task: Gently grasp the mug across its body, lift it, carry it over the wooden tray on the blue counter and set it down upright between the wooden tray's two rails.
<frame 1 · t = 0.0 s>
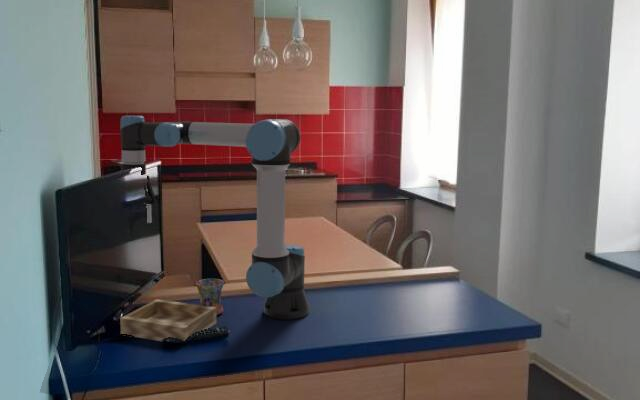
hand: (135, 226, 202), 28 cm above the counter, fingers open, 13 cm apart
wooden tray: (170, 328, 187), on the counter
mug: (210, 312, 203), on the counter
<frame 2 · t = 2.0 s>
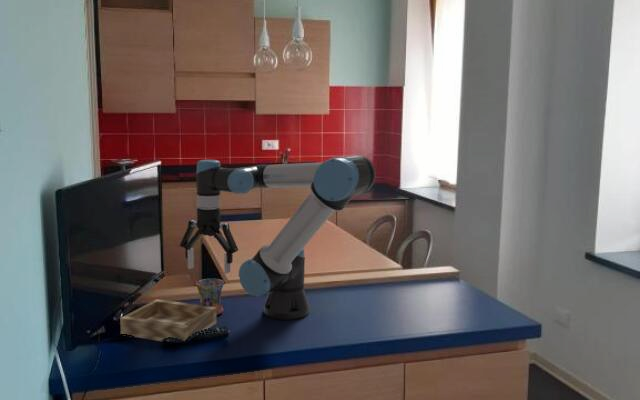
hand: (208, 270, 201), 14 cm above the counter, fingers open, 13 cm apart
nothing on the counter moved.
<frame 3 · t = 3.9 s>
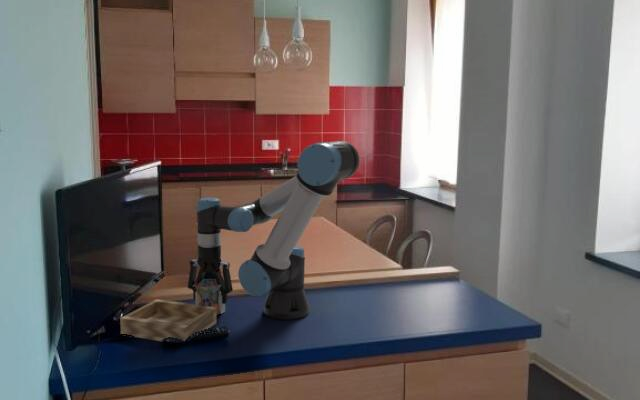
hand: (210, 310, 203), 0 cm above the counter, fingers open, 8 cm apart
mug: (208, 313, 203), on the counter, touching gripper
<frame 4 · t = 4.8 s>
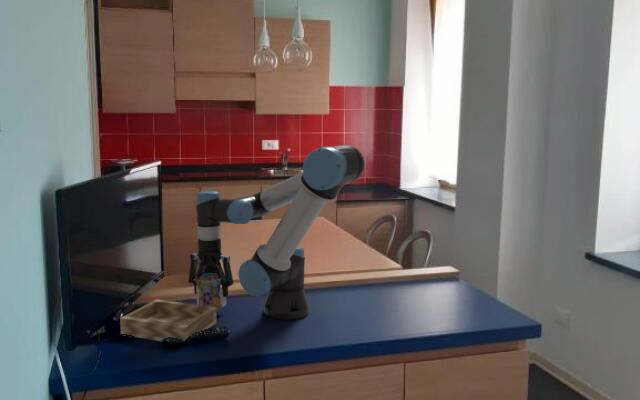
hand: (211, 304, 202), 3 cm above the counter, fingers closed on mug, 8 cm apart
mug: (209, 307, 202), point 2 cm above the counter, touching gripper
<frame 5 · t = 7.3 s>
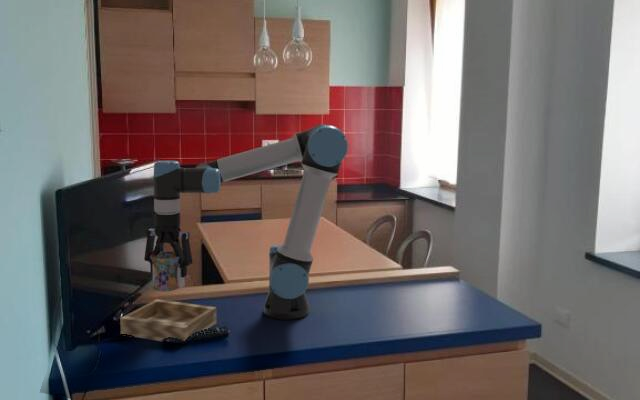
hand: (168, 285, 185), 14 cm above the counter, fingers closed on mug, 8 cm apart
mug: (166, 288, 185), point 13 cm above the counter, touching gripper
when the fingers open (4 cm above the counter, at t = 9.8 s): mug drops 2 cm, resting on wooden tray.
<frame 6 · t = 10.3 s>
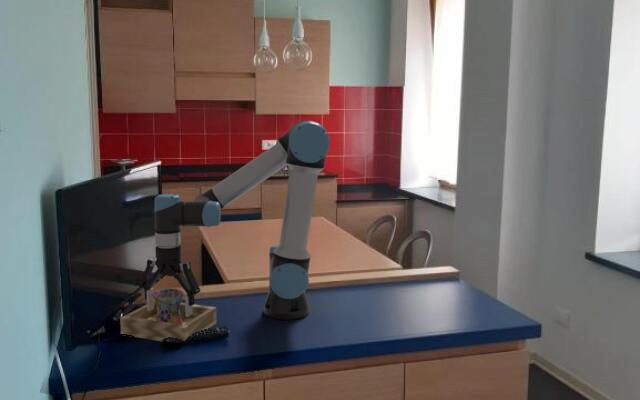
hand: (169, 312, 186), 5 cm above the counter, fingers open, 13 cm apart
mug: (168, 325, 187), point 1 cm above the counter, touching wooden tray
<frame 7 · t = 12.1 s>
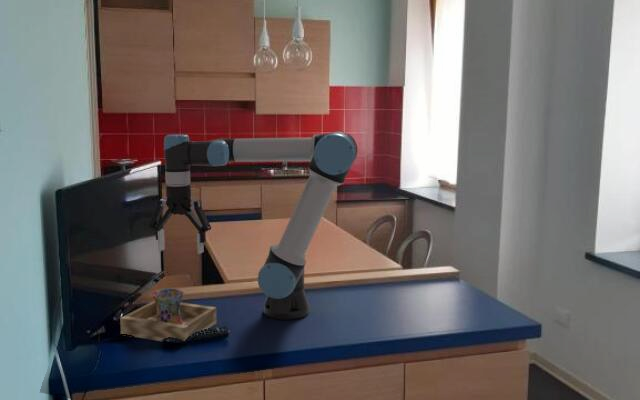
hand: (181, 251, 191), 23 cm above the counter, fingers open, 13 cm apart
nothing on the counter moved.
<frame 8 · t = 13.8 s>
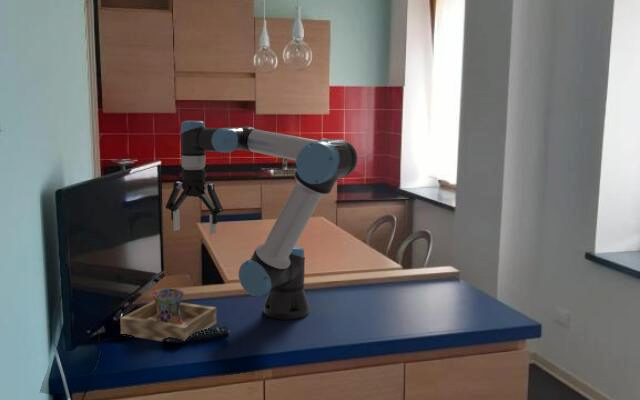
hand: (194, 231, 201), 27 cm above the counter, fingers open, 13 cm apart
nothing on the counter moved.
at the end: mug inside the target area on the wooden tray (0.4 cm from its centre), point 1.0 cm above the wooden tray's base; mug tilted 0°; the gripper is holding nothing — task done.
